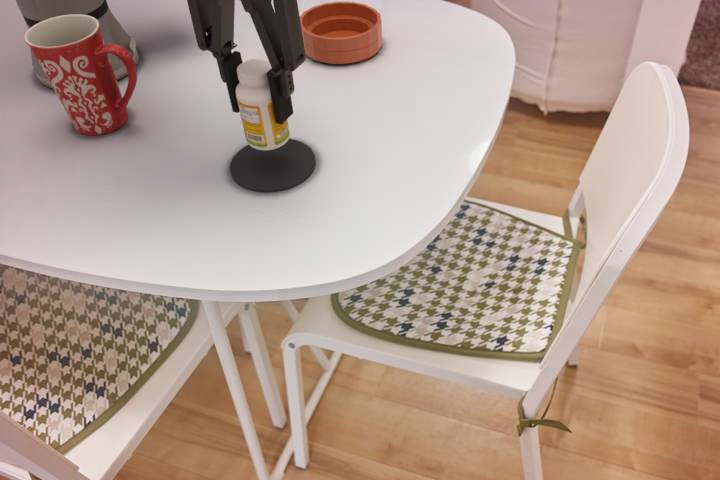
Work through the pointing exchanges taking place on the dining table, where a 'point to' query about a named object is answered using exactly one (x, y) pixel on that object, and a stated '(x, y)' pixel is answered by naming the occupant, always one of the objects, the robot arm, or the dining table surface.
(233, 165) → the coaster
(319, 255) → the dining table surface
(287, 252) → the dining table surface
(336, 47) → the bowl
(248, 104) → the supplement bottle
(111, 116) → the mug
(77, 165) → the dining table surface
